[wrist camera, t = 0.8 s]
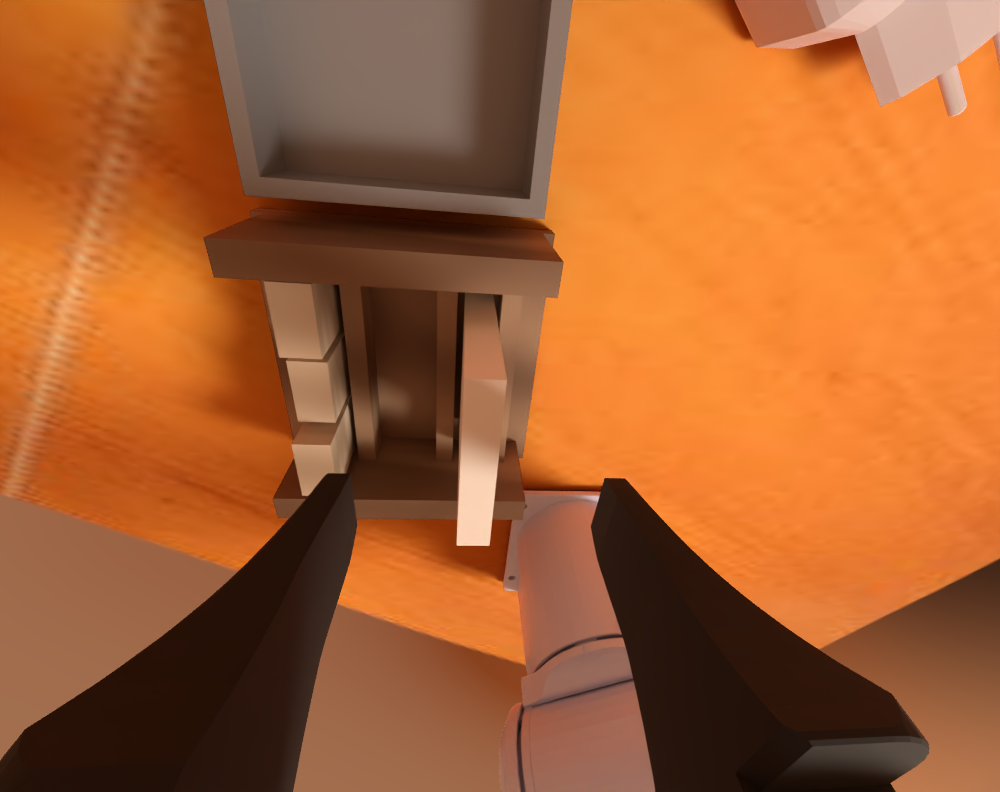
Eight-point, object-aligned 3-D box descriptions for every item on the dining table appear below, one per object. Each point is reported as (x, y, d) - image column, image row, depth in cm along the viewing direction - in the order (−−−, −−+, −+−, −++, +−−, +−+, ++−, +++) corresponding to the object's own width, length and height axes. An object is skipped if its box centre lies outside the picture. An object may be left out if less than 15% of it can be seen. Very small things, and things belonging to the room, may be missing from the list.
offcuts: (359, 433, 23) (338, 496, 19) (330, 432, 22) (302, 495, 19) (340, 254, 18) (306, 288, 14) (302, 251, 18) (257, 286, 14)
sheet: (482, 420, 23) (489, 545, 16) (459, 419, 22) (456, 545, 16) (492, 289, 19) (506, 380, 12) (464, 288, 19) (464, 378, 12)
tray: (533, 206, 18) (544, 219, 15) (277, 185, 17) (244, 195, 14) (576, -170, 13) (604, -244, 10) (207, -233, 12) (134, -333, 9)
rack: (521, 448, 25) (532, 520, 20) (304, 443, 24) (266, 518, 19) (551, 230, 19) (578, 263, 14) (258, 208, 17) (185, 236, 13)
